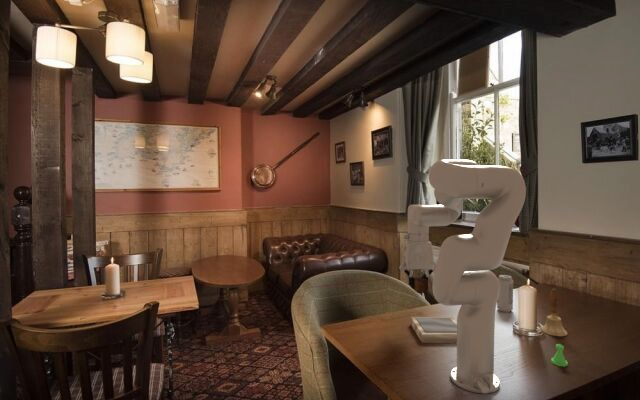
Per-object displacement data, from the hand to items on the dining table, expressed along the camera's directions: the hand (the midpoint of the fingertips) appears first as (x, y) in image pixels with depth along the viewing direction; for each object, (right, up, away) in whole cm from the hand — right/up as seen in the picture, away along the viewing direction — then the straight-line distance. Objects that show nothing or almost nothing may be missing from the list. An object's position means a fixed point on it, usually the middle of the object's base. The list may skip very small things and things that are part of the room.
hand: (418, 286), depth 133 cm
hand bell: (+50, -17, -1) cm, 53 cm away
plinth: (+7, -17, -1) cm, 18 cm away
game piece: (+37, -18, -23) cm, 47 cm away
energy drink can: (+43, -16, +21) cm, 51 cm away
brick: (0, -1, 0) cm, 1 cm away
